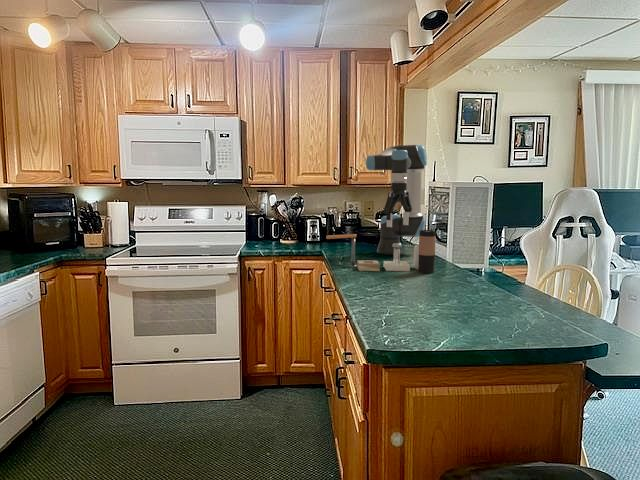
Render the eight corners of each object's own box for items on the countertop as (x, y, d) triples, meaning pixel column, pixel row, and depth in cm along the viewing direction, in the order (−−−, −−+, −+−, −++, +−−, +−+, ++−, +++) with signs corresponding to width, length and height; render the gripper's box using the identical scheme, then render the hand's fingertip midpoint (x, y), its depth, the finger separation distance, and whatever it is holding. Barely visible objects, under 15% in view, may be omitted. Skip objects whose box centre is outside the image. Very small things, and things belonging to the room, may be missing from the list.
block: (357, 267, 239) (357, 260, 238) (377, 267, 239) (377, 260, 239) (358, 270, 229) (359, 263, 229) (379, 271, 229) (379, 263, 229)
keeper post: (348, 265, 243) (349, 237, 241) (356, 265, 243) (357, 237, 241) (349, 267, 239) (349, 238, 237) (357, 267, 239) (357, 238, 237)
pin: (391, 266, 237) (391, 243, 236) (399, 267, 237) (400, 243, 236) (392, 268, 233) (393, 244, 231) (401, 268, 233) (402, 244, 231)
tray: (383, 266, 241) (383, 261, 240) (405, 267, 241) (405, 261, 240) (386, 270, 229) (386, 264, 229) (409, 271, 229) (409, 265, 229)
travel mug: (415, 272, 226) (417, 230, 223) (420, 270, 232) (421, 229, 230) (431, 274, 222) (433, 231, 220) (436, 271, 229) (437, 230, 226)
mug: (421, 270, 232) (422, 247, 231) (409, 267, 240) (410, 245, 238) (439, 268, 238) (440, 246, 237) (427, 265, 246) (428, 244, 245)
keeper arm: (354, 236, 241) (354, 233, 241) (357, 237, 239) (357, 234, 239) (325, 238, 232) (325, 235, 232) (328, 239, 229) (328, 236, 229)
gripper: (389, 182, 219) (388, 228, 221) (419, 182, 236) (418, 224, 239) (376, 182, 224) (375, 227, 227) (407, 182, 241) (405, 223, 244)
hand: (397, 226), depth 233 cm, fingers open, 13 cm apart
